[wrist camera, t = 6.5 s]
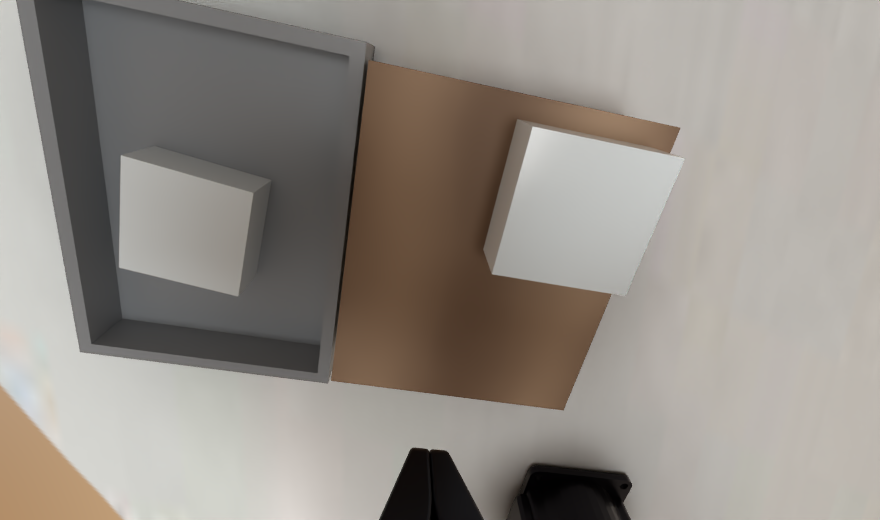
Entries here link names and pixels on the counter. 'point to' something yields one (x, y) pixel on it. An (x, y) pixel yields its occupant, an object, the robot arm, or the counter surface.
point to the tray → (210, 139)
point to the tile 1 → (190, 220)
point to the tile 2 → (577, 208)
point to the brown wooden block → (456, 247)
